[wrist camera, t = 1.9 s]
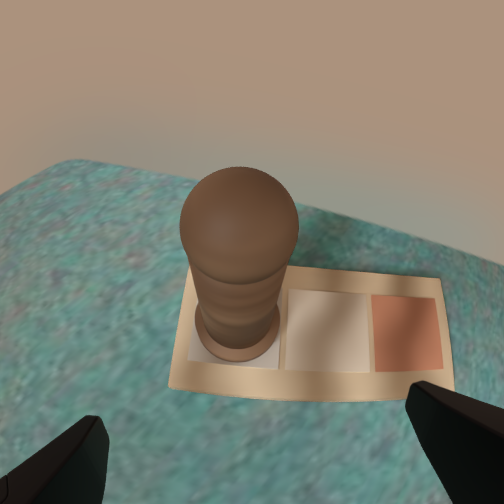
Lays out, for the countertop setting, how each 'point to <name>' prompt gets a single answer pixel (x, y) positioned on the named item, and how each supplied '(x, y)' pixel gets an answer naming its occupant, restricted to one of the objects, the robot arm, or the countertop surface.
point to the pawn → (238, 258)
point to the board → (330, 341)
